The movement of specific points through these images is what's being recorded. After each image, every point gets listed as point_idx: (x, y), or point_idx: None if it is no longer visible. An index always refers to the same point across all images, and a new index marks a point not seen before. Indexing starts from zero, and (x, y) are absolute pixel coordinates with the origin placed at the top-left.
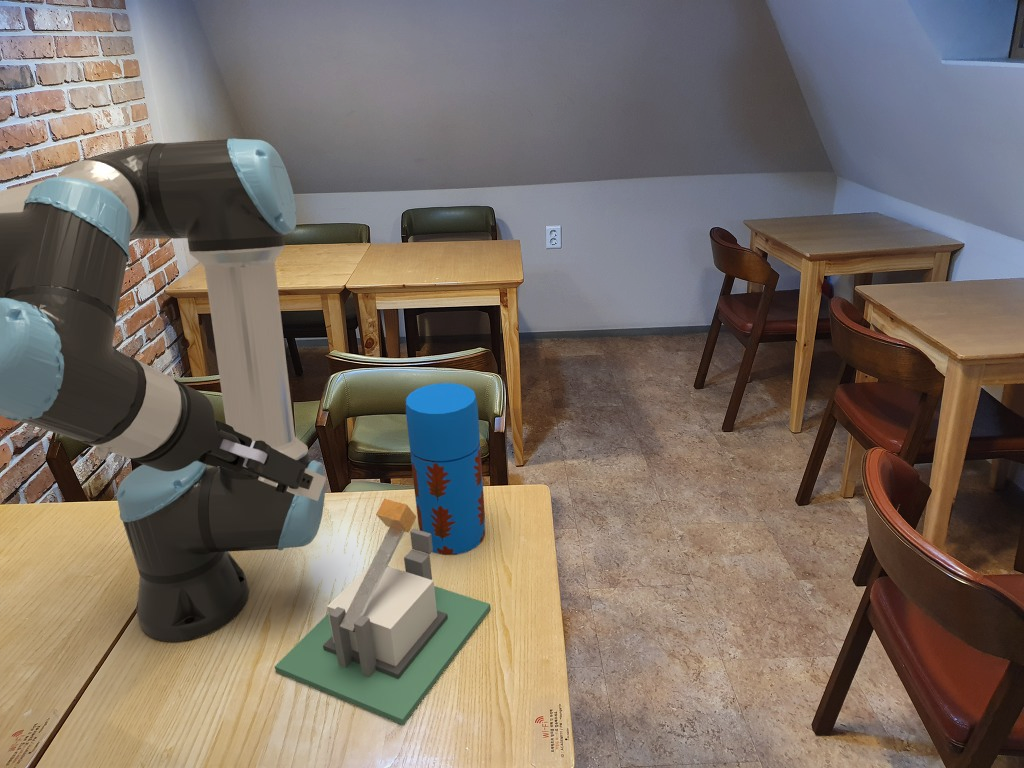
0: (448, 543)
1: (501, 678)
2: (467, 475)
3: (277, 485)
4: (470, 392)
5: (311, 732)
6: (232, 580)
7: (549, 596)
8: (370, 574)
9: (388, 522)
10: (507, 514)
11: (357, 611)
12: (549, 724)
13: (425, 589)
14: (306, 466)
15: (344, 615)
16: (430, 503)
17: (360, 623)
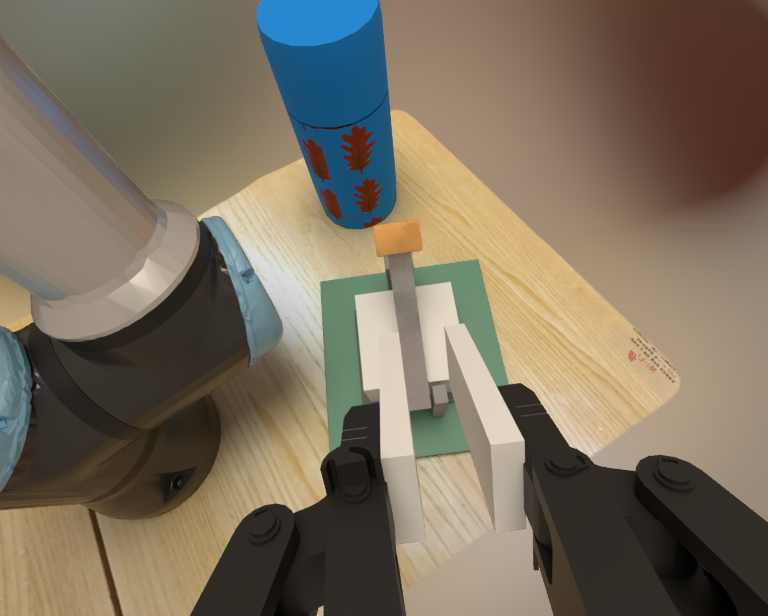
0: (376, 213)
1: (558, 333)
2: (388, 123)
3: (535, 554)
4: None
5: (439, 513)
6: (188, 407)
7: (516, 217)
8: (405, 331)
9: (392, 254)
10: None
11: (421, 383)
12: (645, 355)
13: (453, 298)
14: (690, 466)
15: None
16: (351, 181)
17: (442, 398)
